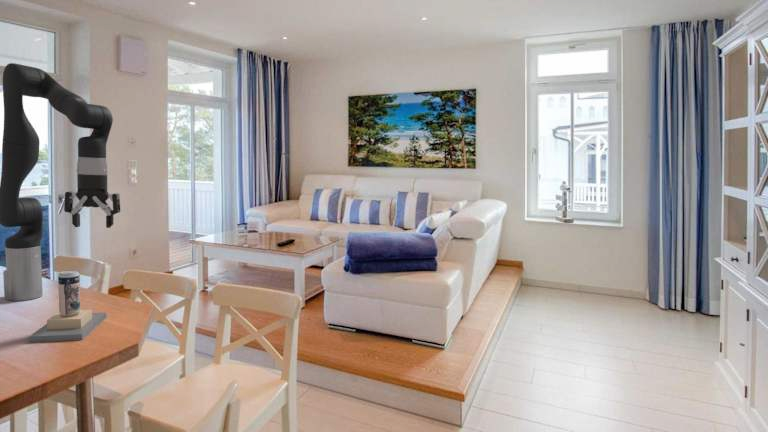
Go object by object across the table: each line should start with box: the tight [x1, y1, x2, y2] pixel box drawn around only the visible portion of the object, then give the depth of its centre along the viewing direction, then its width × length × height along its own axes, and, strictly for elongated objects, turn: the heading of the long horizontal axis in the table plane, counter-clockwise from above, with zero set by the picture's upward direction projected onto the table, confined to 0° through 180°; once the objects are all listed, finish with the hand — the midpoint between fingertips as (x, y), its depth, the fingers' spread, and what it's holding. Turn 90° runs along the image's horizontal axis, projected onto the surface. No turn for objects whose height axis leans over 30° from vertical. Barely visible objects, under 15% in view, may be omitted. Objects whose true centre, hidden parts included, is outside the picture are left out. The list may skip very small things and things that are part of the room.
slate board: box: [28, 309, 107, 343], centre depth 127 cm, size 12×18×4 cm, turn 14°
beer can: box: [57, 269, 82, 317], centre depth 126 cm, size 5×5×12 cm
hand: (93, 227), depth 138 cm, fingers open, 8 cm apart
